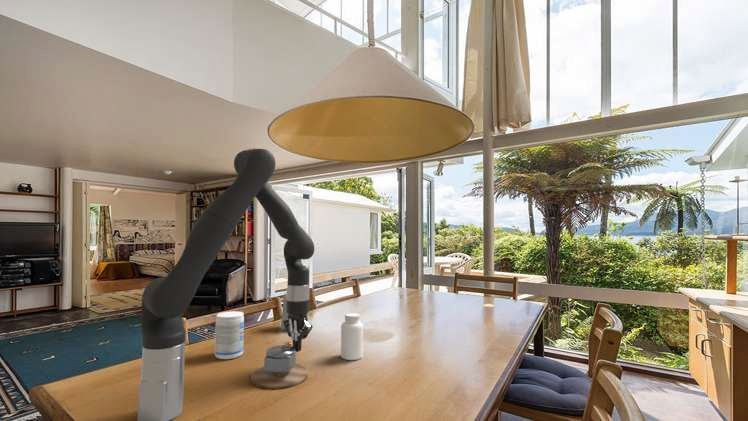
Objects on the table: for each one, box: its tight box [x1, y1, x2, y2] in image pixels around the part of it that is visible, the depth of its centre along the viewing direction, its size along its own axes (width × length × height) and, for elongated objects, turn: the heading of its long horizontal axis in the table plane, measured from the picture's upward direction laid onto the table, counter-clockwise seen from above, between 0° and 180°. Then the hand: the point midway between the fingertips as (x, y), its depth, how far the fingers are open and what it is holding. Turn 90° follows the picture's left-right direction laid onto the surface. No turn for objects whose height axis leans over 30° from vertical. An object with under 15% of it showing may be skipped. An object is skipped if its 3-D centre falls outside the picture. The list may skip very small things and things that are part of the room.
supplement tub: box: [214, 310, 245, 360], centre depth 130 cm, size 10×10×15 cm
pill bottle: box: [340, 313, 364, 361], centre depth 131 cm, size 8×8×15 cm
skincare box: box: [280, 292, 288, 331], centre depth 165 cm, size 8×7×16 cm
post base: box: [250, 363, 309, 390], centre depth 113 cm, size 18×17×6 cm
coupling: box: [263, 341, 297, 372], centre depth 115 cm, size 14×9×5 cm, turn 177°
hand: (296, 351), depth 120 cm, fingers closed
